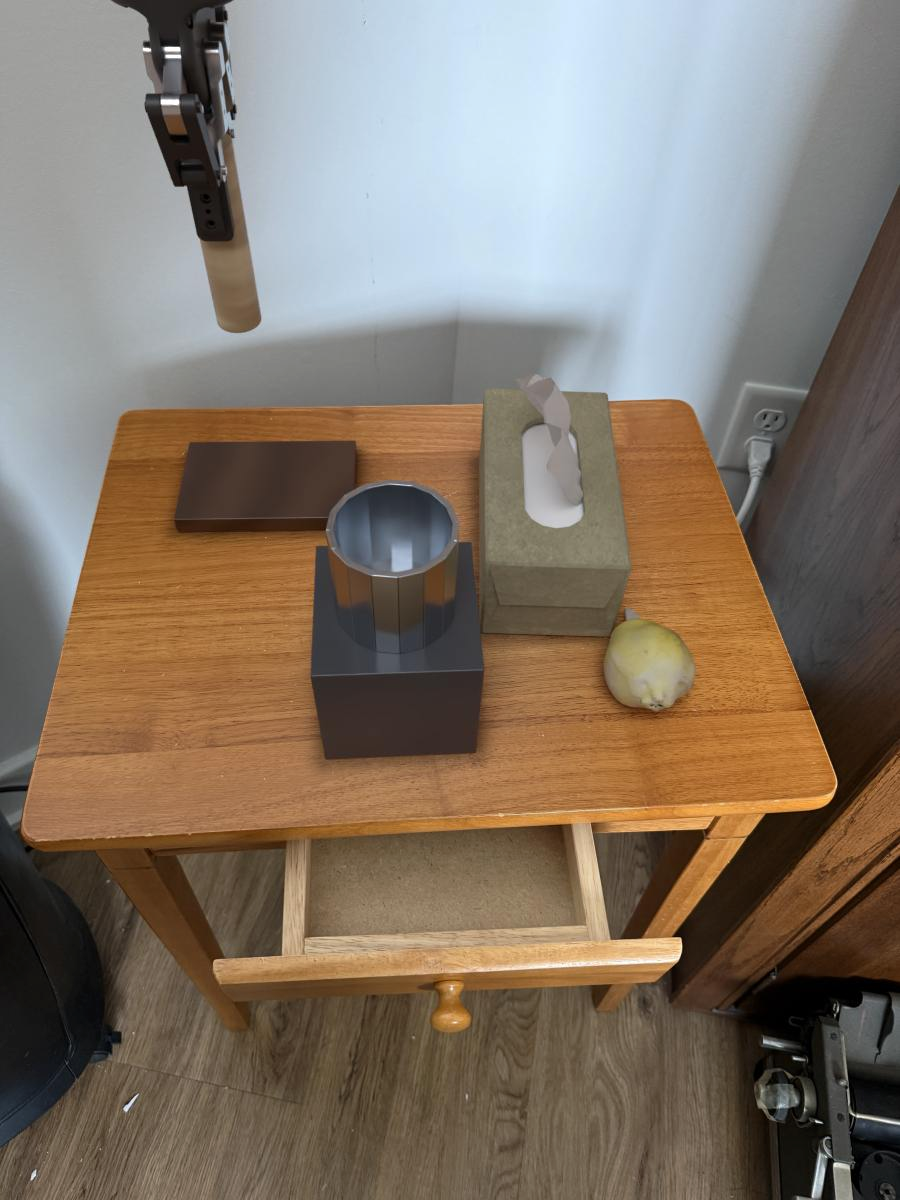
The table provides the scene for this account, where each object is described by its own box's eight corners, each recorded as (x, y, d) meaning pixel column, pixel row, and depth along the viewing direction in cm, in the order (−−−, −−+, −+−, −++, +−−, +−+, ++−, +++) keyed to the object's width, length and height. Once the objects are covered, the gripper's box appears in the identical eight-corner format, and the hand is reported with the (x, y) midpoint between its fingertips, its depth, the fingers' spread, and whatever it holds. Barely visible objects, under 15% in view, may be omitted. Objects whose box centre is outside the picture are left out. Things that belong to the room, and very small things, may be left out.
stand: (324, 759, 59) (310, 676, 51) (328, 636, 65) (315, 545, 57) (476, 753, 59) (484, 670, 51) (465, 632, 65) (471, 541, 57)
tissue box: (478, 460, 77) (490, 297, 64) (592, 463, 77) (625, 302, 64) (479, 637, 65) (493, 481, 53) (612, 641, 65) (657, 487, 53)
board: (177, 532, 71) (173, 519, 69) (192, 454, 76) (189, 441, 75) (354, 530, 71) (353, 517, 70) (356, 453, 77) (355, 440, 76)
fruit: (663, 614, 67) (714, 717, 60) (587, 640, 67) (628, 745, 60) (654, 561, 63) (707, 665, 56) (573, 589, 63) (615, 695, 56)
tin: (313, 623, 53) (301, 545, 48) (374, 544, 57) (370, 463, 52) (419, 671, 51) (419, 596, 46) (475, 586, 55) (481, 507, 50)
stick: (208, 325, 60) (168, 145, 51) (234, 303, 62) (201, 124, 53) (244, 338, 60) (211, 158, 50) (270, 315, 61) (242, 137, 52)
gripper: (103, -167, 46) (176, 168, 59) (37, -81, 37) (140, 287, 51) (250, -164, 46) (289, 168, 60) (218, -78, 38) (272, 287, 51)
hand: (220, 221), depth 55 cm, fingers closed on stick, 3 cm apart
